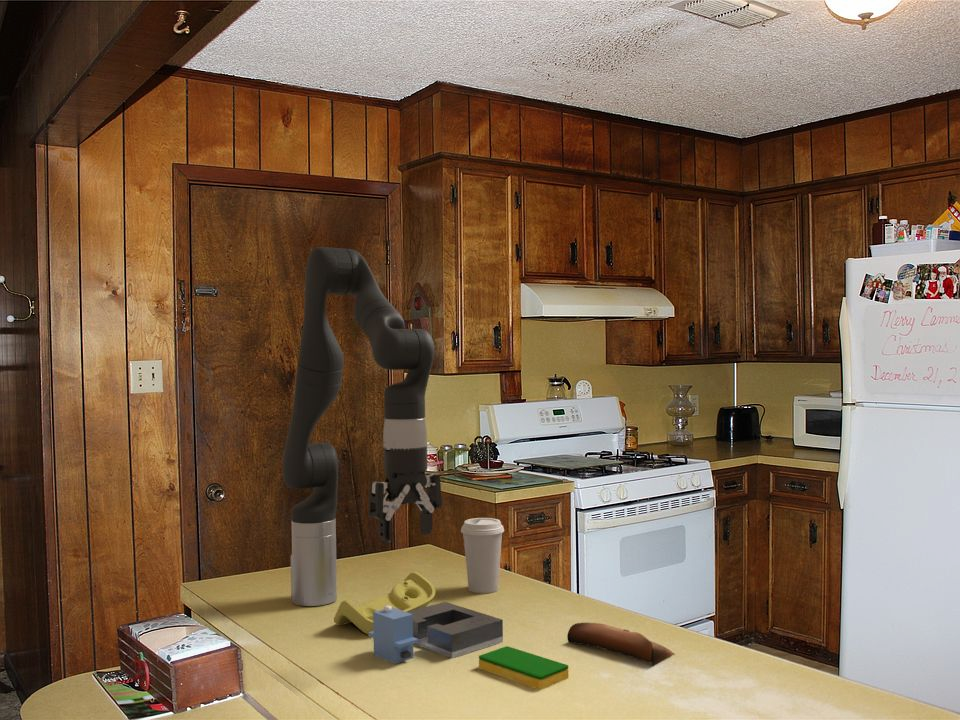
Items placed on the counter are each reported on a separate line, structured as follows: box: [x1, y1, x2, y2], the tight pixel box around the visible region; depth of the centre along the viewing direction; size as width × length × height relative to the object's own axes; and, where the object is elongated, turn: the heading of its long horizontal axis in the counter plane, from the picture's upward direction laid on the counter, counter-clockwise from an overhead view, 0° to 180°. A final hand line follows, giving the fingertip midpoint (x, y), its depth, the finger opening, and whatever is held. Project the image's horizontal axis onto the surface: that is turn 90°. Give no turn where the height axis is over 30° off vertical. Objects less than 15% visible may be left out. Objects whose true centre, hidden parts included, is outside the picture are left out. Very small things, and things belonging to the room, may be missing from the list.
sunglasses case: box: [566, 622, 676, 667], centre depth 154 cm, size 18×7×7 cm
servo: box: [367, 606, 419, 664], centre depth 151 cm, size 4×9×8 cm, turn 42°
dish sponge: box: [478, 645, 569, 690], centre depth 143 cm, size 7×14×2 cm, turn 45°
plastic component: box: [333, 571, 436, 635], centre depth 172 cm, size 20×7×10 cm
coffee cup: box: [460, 517, 505, 594], centre depth 193 cm, size 10×10×15 cm
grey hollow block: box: [407, 601, 504, 659], centre depth 160 cm, size 16×12×4 cm
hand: (406, 537), depth 152 cm, fingers open, 8 cm apart
